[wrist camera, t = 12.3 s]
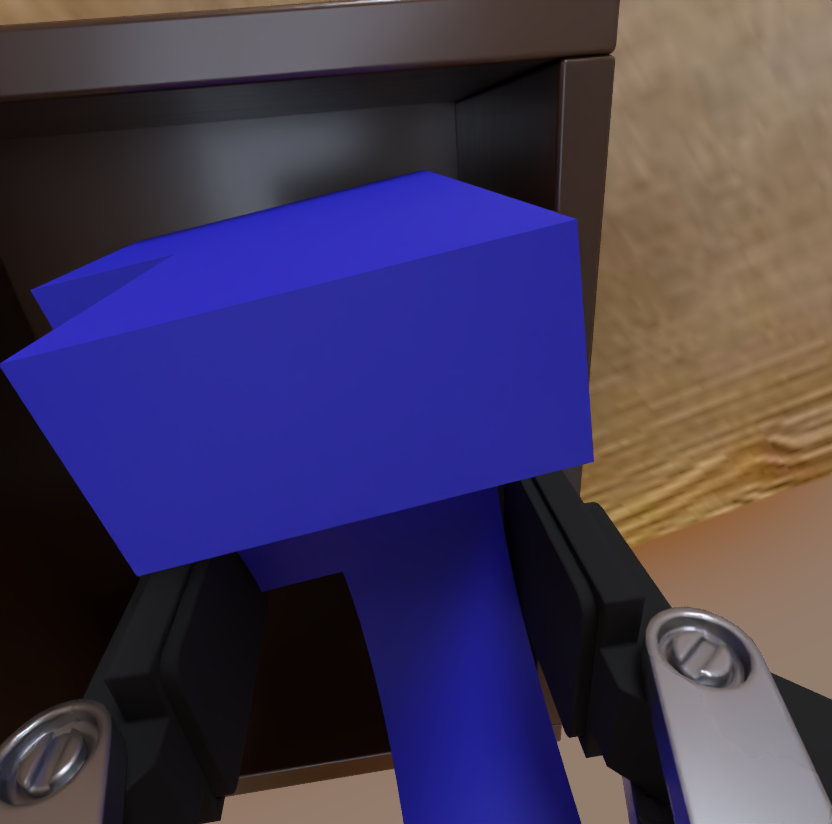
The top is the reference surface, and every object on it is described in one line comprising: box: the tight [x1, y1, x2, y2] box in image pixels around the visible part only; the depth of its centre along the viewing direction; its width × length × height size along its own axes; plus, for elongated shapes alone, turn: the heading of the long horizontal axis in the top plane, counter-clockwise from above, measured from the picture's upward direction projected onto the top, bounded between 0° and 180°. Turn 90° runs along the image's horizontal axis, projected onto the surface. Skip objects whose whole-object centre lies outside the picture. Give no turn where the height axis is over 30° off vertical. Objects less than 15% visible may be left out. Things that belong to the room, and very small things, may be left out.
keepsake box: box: [0, 0, 620, 797], centre depth 14 cm, size 15×17×9 cm
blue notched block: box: [0, 170, 594, 824], centre depth 8 cm, size 12×4×6 cm, turn 13°
